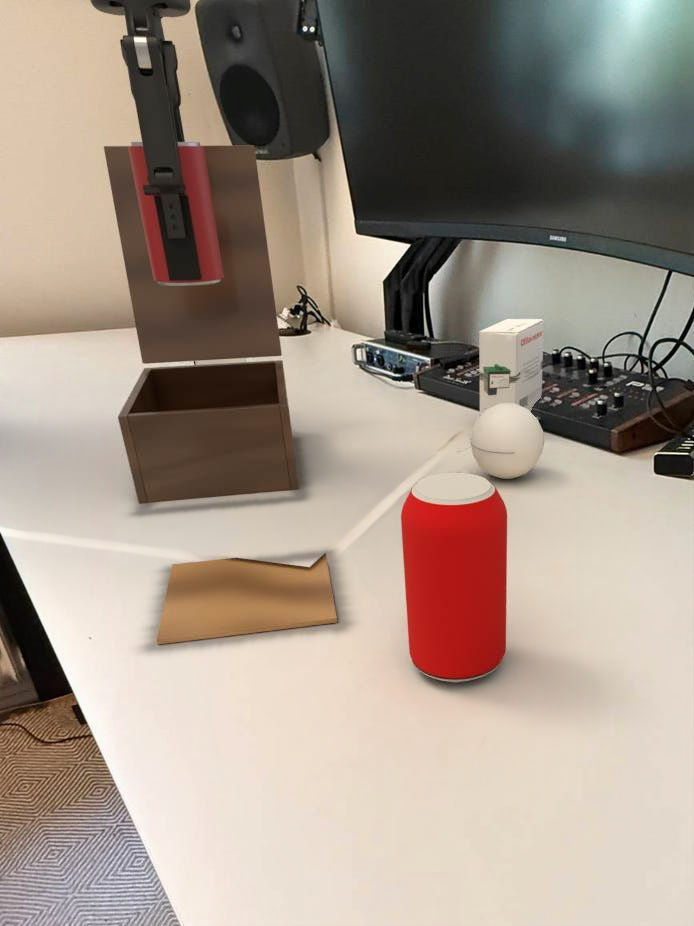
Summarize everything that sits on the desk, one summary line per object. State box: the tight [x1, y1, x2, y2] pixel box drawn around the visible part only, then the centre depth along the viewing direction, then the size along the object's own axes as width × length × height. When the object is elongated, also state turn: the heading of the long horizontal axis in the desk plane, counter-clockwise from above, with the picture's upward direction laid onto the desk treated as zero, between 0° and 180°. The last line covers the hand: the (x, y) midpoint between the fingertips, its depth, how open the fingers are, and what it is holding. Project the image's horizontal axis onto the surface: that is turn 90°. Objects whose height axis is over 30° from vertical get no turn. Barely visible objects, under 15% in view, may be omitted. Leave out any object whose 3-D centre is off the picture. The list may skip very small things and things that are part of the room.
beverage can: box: [400, 472, 508, 683], centre depth 48 cm, size 6×6×12 cm
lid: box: [103, 144, 283, 365], centre depth 84 cm, size 20×15×1 cm
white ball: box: [455, 403, 545, 480], centre depth 79 cm, size 10×7×7 cm
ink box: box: [478, 318, 545, 421], centre depth 93 cm, size 9×5×12 cm, turn 156°
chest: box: [117, 359, 300, 505], centre depth 81 cm, size 20×15×9 cm
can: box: [127, 141, 224, 286], centre depth 71 cm, size 6×6×11 cm
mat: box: [156, 552, 338, 645], centre depth 60 cm, size 12×12×1 cm
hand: (188, 274), depth 74 cm, fingers closed on can, 6 cm apart
